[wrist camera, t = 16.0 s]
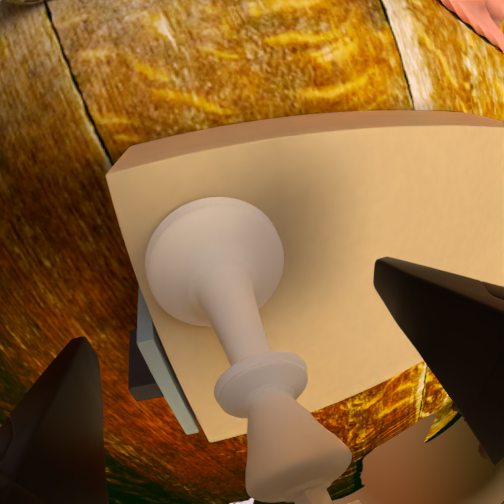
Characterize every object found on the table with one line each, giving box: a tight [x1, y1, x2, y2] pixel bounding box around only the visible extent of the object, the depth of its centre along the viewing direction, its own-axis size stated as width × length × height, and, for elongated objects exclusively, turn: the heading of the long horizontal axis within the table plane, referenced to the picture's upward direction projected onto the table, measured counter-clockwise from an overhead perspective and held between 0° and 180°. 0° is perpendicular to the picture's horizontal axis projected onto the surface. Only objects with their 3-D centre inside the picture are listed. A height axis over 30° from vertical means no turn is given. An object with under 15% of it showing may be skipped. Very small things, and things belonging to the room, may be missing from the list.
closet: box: [106, 110, 504, 442], centre depth 19 cm, size 26×16×8 cm, turn 98°
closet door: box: [128, 286, 199, 435], centre depth 17 cm, size 3×8×7 cm, turn 8°
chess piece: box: [145, 197, 362, 504], centre depth 7 cm, size 5×5×10 cm
